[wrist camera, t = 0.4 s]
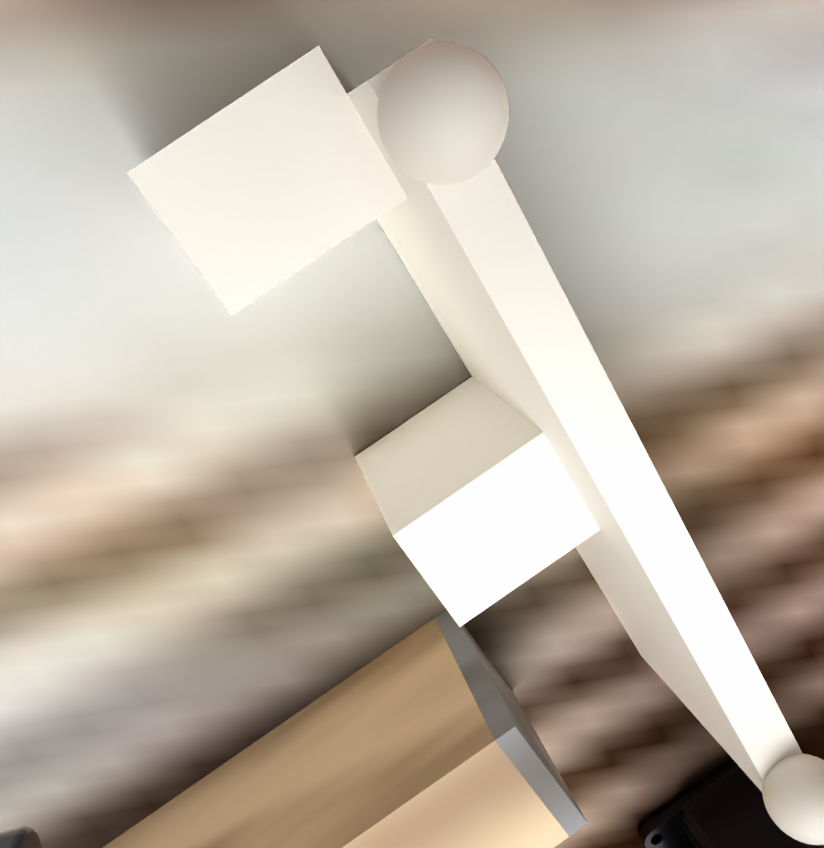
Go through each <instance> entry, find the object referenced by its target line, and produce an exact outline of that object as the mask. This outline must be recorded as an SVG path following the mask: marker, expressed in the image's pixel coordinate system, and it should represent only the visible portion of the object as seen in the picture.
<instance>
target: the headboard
mask: <svg viewBox="0 0 824 848" xmlns="http://www.w3.org/2000/svg"><path fill="white" fill-rule="evenodd" d="M508 124H509V101H508V95H507V92H506V88H505V85H504V83H503V81H502V78H501V77H500V75H499V73H498V71H497V70H496V69H495V67H494V66H493V65H492V64H491V63H490V62H489V61H488V60H487V59H486V58H485V57H484V56H483V55H482V54H480V53H479V52H477V51H476V50H474V49H472V48H470V47H468V46H465V45H462V44H458V43H454V42H434V40H433V38H430V39H429V40H427V41H426V42H424V43H423V44H421V45H420V46H418V47H417V48H415V49H414V50H412V51H411V52H409V53H408V54H406V55H405V56H403V57H402V58H400V59H399V60H397V61H396V62H394V63H392V64H391V65H389V66H388V67H386V68H385V69H383V70H382V71H380V72H379V73H377V74H376V75H374V76H373V77H371V78H370V79H368V80H367V81H365V82H364V83H362V84H361V85H360V86H358V87H357V88H355V89H354V90H352V91H351V92H349V93H348V94H347V93H346V91H345V90H344V88H343V86H342V84H341V83H340V81H339V79H338V78H337V76H336V74H335V72H334V71H333V69H332V67H331V66H330V64H329V62H328V60H327V59H326V57H325V55H324V53H323V52H322V50H321V48H320V47H319V45H318V46H317V47H315V48H314V49H312V50H311V51H309V52H308V53H306V54H305V55H303V56H302V57H300V58H299V59H297V60H296V61H294V62H293V63H291V64H290V65H288V66H287V67H285V68H284V69H282V70H281V71H279V72H278V73H276V74H275V75H273V76H272V77H270V78H269V79H267V80H266V81H264V82H263V83H261V84H260V85H258V86H256V87H255V88H253V89H252V90H250V91H249V92H247V93H246V94H244V95H243V96H241V97H240V98H238V99H237V100H235V101H234V102H232V103H231V104H229V105H228V106H226V107H225V108H223V109H222V110H220V111H219V112H217V113H216V114H214V115H213V116H211V117H210V118H208V119H207V120H205V121H204V122H202V123H201V124H199V125H198V126H196V127H195V128H193V129H192V130H190V131H189V132H187V133H186V134H184V135H183V136H181V137H180V138H178V139H177V140H175V141H173V142H172V143H170V144H169V145H167V146H166V147H164V148H163V149H161V150H160V151H158V152H157V153H155V154H154V155H152V156H151V157H149V158H148V159H146V160H145V161H143V162H142V163H140V164H139V165H137V166H136V167H134V168H133V169H131V170H130V171H128V172H127V175H128V176H129V177H130V179H131V180H132V182H133V183H134V184H135V186H136V187H137V188H138V190H139V191H140V192H141V194H142V195H143V197H144V198H145V199H146V201H147V202H148V203H149V205H150V206H151V207H152V209H153V210H154V211H155V213H156V214H157V216H158V217H159V218H160V220H161V221H162V222H163V224H164V225H165V226H166V228H167V229H168V231H169V232H170V233H171V235H172V236H173V237H174V239H175V240H176V241H177V243H178V244H179V246H180V247H181V248H182V250H183V251H184V252H185V254H186V255H187V256H188V258H189V259H190V261H191V262H192V263H193V265H194V266H195V267H196V269H197V270H198V271H199V273H200V274H201V276H202V277H203V278H204V280H205V281H206V282H207V284H208V285H209V286H210V288H211V289H212V290H213V292H214V293H215V295H216V296H217V297H218V299H219V300H220V301H221V303H222V304H223V305H224V307H225V308H226V310H227V311H228V312H229V314H230V315H231V316H233V315H234V314H236V313H237V312H239V311H240V310H242V309H243V308H245V307H246V306H248V305H249V304H251V303H252V302H254V301H255V300H257V299H258V298H260V297H261V296H263V295H264V294H266V293H267V292H269V291H270V290H272V289H273V288H275V287H276V286H278V285H279V284H281V283H282V282H283V281H285V280H286V279H288V278H289V277H291V276H292V275H294V274H295V273H297V272H298V271H300V270H301V269H303V268H304V267H306V266H307V265H309V264H310V263H312V262H313V261H315V260H316V259H318V258H319V257H321V256H322V255H324V254H325V253H327V252H328V251H330V250H331V249H333V248H334V247H336V246H337V245H339V244H340V243H341V242H343V241H344V240H346V239H347V238H349V237H350V236H352V235H353V234H355V233H356V232H358V231H359V230H361V229H362V228H364V227H365V226H367V225H368V224H370V223H371V222H373V221H374V220H376V219H377V221H378V222H379V224H380V226H381V227H382V229H383V231H384V232H385V234H386V236H387V237H388V239H389V241H390V242H391V244H392V246H393V247H394V249H395V250H396V252H397V254H398V255H399V257H400V259H401V260H402V262H403V264H404V265H405V267H406V269H407V270H408V272H409V274H410V275H411V277H412V279H413V280H414V282H415V283H416V285H417V287H418V288H419V290H420V292H421V293H422V295H423V297H424V298H425V300H426V302H427V303H428V305H429V307H430V308H431V310H432V312H433V313H434V315H435V316H436V318H437V320H438V321H439V323H440V325H441V326H442V328H443V330H444V331H445V333H446V335H447V336H448V338H449V340H450V341H451V343H452V345H453V346H454V348H455V349H456V351H457V353H458V354H459V356H460V358H461V359H462V361H463V363H464V364H465V366H466V368H467V369H468V371H469V373H470V374H471V376H472V377H471V378H469V379H468V380H466V381H465V382H463V383H462V384H460V385H459V386H457V387H456V388H454V389H453V390H451V391H450V392H449V393H447V394H446V395H444V396H443V397H441V398H440V399H438V400H437V401H435V402H434V403H432V404H431V405H430V406H428V407H427V408H425V409H424V410H422V411H421V412H419V413H418V414H416V415H415V416H413V417H412V418H410V419H409V420H408V421H406V422H405V423H403V424H402V425H400V426H399V427H397V428H396V429H394V430H393V431H391V432H390V433H389V434H387V435H386V436H384V437H383V438H381V439H380V440H378V441H377V442H375V443H374V444H372V445H371V446H369V447H368V448H367V449H365V450H364V451H362V452H361V453H359V454H358V455H356V456H355V460H356V462H357V464H358V466H359V468H360V470H361V472H362V474H363V476H364V478H365V480H366V482H367V484H368V486H369V488H370V490H371V492H372V494H373V497H374V499H375V501H376V503H377V505H378V507H379V509H380V511H381V513H382V515H383V517H384V519H385V521H386V523H387V525H388V527H389V529H390V531H391V534H392V536H393V537H394V538H395V540H396V541H397V542H398V544H399V545H400V547H401V548H402V549H403V551H404V552H405V553H406V555H407V556H408V557H409V559H410V560H411V562H412V563H413V564H414V566H415V567H416V568H417V570H418V571H419V572H420V574H421V575H422V577H423V578H424V579H425V581H426V582H427V583H428V585H429V586H430V587H431V589H432V590H433V592H434V593H435V594H436V596H437V597H438V598H439V600H440V601H441V602H442V604H443V605H444V607H445V608H446V609H447V611H448V612H449V613H450V615H451V616H452V617H453V619H454V620H455V622H456V623H457V624H458V626H459V627H461V626H462V625H464V624H465V623H467V622H468V621H469V620H471V619H472V618H474V617H475V616H477V615H478V614H480V613H481V612H482V611H484V610H485V609H487V608H488V607H490V606H491V605H493V604H494V603H495V602H497V601H498V600H500V599H501V598H503V597H504V596H505V595H507V594H508V593H510V592H511V591H513V590H514V589H516V588H517V587H518V586H520V585H521V584H523V583H524V582H526V581H527V580H529V579H530V578H531V577H533V576H534V575H536V574H537V573H539V572H540V571H541V570H543V569H544V568H546V567H547V566H549V565H550V564H552V563H553V562H554V561H556V560H557V559H559V558H560V557H562V556H563V555H565V554H566V553H567V552H569V551H570V550H572V549H573V548H576V549H577V551H578V552H579V554H580V556H581V557H582V559H583V561H584V562H585V564H586V566H587V567H588V569H589V571H590V572H591V574H592V576H593V577H594V579H595V581H596V582H597V584H598V585H599V587H600V589H601V590H602V592H603V594H604V595H605V597H606V599H607V600H608V602H609V604H610V605H611V607H612V609H613V610H614V612H615V614H616V615H617V617H618V618H619V620H620V622H621V623H622V625H623V627H624V628H625V630H626V632H627V633H628V635H629V637H630V638H631V640H632V642H633V643H634V645H635V647H636V648H637V650H638V651H639V653H640V655H641V656H642V657H643V658H644V660H645V661H646V662H647V663H648V664H649V665H650V666H651V667H652V669H653V670H654V671H655V672H656V673H657V674H658V675H659V676H660V678H661V679H662V680H663V681H664V682H665V683H666V684H667V685H668V687H669V688H670V689H671V690H672V691H673V692H674V693H675V694H676V696H677V697H678V698H679V699H680V700H681V701H682V702H683V704H684V705H685V706H686V707H687V708H688V709H689V710H690V711H691V713H692V714H693V715H694V716H695V717H696V718H697V719H698V720H699V722H700V723H701V724H702V725H703V726H704V727H705V728H706V729H707V731H708V732H709V733H710V734H711V735H712V736H713V737H714V739H715V740H716V741H717V742H718V743H719V744H720V745H721V746H722V748H723V749H724V750H725V751H726V752H727V753H728V754H729V755H730V757H731V758H732V759H733V760H734V761H735V762H736V763H737V764H738V766H739V767H740V768H741V769H742V770H743V771H744V772H745V773H746V775H747V776H748V777H749V778H750V779H751V780H752V781H753V783H754V784H755V785H756V786H757V787H758V788H759V789H760V790H761V792H762V794H763V800H764V804H765V807H766V809H767V812H768V814H769V815H770V817H771V818H772V820H773V821H774V823H775V824H776V825H777V826H778V827H779V828H780V829H781V830H782V831H783V832H784V833H786V834H787V835H789V836H790V837H792V838H793V839H795V840H798V841H800V842H803V843H806V844H811V845H824V760H822V759H820V758H818V757H815V756H812V755H808V754H803V753H802V751H801V749H800V747H799V746H798V744H797V742H796V740H795V738H794V736H793V734H792V732H791V730H790V728H789V726H788V724H787V722H786V720H785V718H784V717H783V715H782V713H781V711H780V709H779V707H778V705H777V703H776V701H775V699H774V697H773V695H772V693H771V691H770V689H769V688H768V686H767V684H766V682H765V680H764V678H763V676H762V674H761V672H760V670H759V668H758V666H757V664H756V662H755V660H754V659H753V657H752V655H751V653H750V651H749V649H748V647H747V645H746V643H745V641H744V639H743V637H742V635H741V633H740V631H739V630H738V628H737V626H736V624H735V622H734V620H733V618H732V616H731V614H730V612H729V610H728V608H727V606H726V604H725V602H724V601H723V599H722V597H721V595H720V593H719V591H718V589H717V587H716V585H715V583H714V581H713V579H712V577H711V575H710V573H709V572H708V570H707V568H706V566H705V564H704V562H703V560H702V558H701V556H700V554H699V552H698V550H697V548H696V546H695V544H694V543H693V541H692V539H691V537H690V535H689V533H688V531H687V529H686V527H685V525H684V523H683V521H682V519H681V517H680V515H679V514H678V512H677V510H676V508H675V506H674V504H673V502H672V500H671V498H670V496H669V494H668V492H667V490H666V488H665V486H664V485H663V483H662V481H661V479H660V477H659V475H658V473H657V471H656V469H655V467H654V465H653V463H652V461H651V459H650V457H649V456H648V454H647V452H646V450H645V448H644V446H643V444H642V442H641V440H640V438H639V436H638V434H637V432H636V430H635V429H634V427H633V425H632V423H631V421H630V419H629V417H628V415H627V413H626V411H625V409H624V407H623V405H622V403H621V401H620V400H619V398H618V396H617V394H616V392H615V390H614V388H613V386H612V384H611V382H610V380H609V378H608V376H607V374H606V372H605V371H604V369H603V367H602V365H601V363H600V361H599V359H598V357H597V355H596V353H595V351H594V349H593V347H592V345H591V343H590V342H589V340H588V338H587V336H586V334H585V332H584V330H583V328H582V326H581V324H580V322H579V320H578V318H577V316H576V314H575V313H574V311H573V309H572V307H571V305H570V303H569V301H568V299H567V297H566V295H565V293H564V291H563V289H562V287H561V285H560V284H559V282H558V280H557V278H556V276H555V274H554V272H553V270H552V268H551V266H550V264H549V262H548V260H547V258H546V256H545V255H544V253H543V251H542V249H541V247H540V245H539V243H538V241H537V239H536V237H535V235H534V233H533V231H532V229H531V227H530V226H529V224H528V222H527V220H526V218H525V216H524V214H523V212H522V210H521V208H520V206H519V204H518V202H517V200H516V198H515V197H514V195H513V193H512V191H511V189H510V187H509V185H508V183H507V181H506V179H505V177H504V175H503V173H502V171H501V169H500V168H499V166H498V164H497V162H496V160H495V156H496V155H497V153H498V152H499V150H500V148H501V146H502V144H503V142H504V139H505V136H506V133H507V129H508Z"/></svg>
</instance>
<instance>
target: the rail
mask: <svg viewBox="0 0 824 848" xmlns="http://www.w3.org/2000/svg"><path fill="white" fill-rule="evenodd" d="M586 824H588V823H587V821H586V819H585V818H584V816H583V814H582V812H581V811H580V809H579V807H578V805H577V804H576V802H575V800H574V798H573V797H572V795H571V793H570V791H569V790H568V788H567V786H566V784H565V783H564V781H563V779H562V777H561V776H560V774H559V772H558V770H557V769H556V767H555V765H554V763H553V762H552V760H551V758H550V756H549V755H548V753H547V751H546V749H545V748H544V746H543V744H542V743H541V741H540V739H539V737H538V736H537V734H536V732H535V730H534V729H533V727H532V725H531V723H530V722H529V720H528V718H527V716H526V715H525V713H524V711H523V709H522V708H521V706H520V704H519V702H518V701H517V699H516V697H515V695H514V694H513V692H512V690H511V689H510V688H509V686H508V685H507V684H506V682H505V681H504V679H503V678H502V677H501V675H500V674H499V673H498V671H497V670H496V668H495V667H494V666H493V664H492V663H491V662H490V660H489V659H488V658H487V656H486V655H485V653H484V652H483V651H482V649H481V648H480V647H479V645H478V644H477V642H476V641H475V640H474V638H473V637H472V636H471V634H470V633H469V631H468V630H467V629H466V627H465V626H464V625H462V626H461V627H459V626H458V624H457V623H456V622H455V620H454V619H453V617H452V616H451V615H450V613H449V612H448V611H447V609H446V610H445V611H443V612H442V613H440V614H439V615H438V616H436V617H435V618H433V619H432V620H430V621H429V622H427V623H426V624H425V625H423V626H422V627H420V628H419V629H417V630H416V631H414V632H413V633H412V634H410V635H409V636H407V637H406V638H404V639H403V640H401V641H400V642H399V643H397V644H396V645H394V646H393V647H391V648H390V649H388V650H387V651H386V652H384V653H383V654H381V655H380V656H378V657H377V658H375V659H374V660H373V661H371V662H370V663H368V664H367V665H365V666H364V667H362V668H361V669H360V670H358V671H357V672H355V673H354V674H352V675H351V676H349V677H348V678H347V679H345V680H344V681H342V682H341V683H339V684H338V685H337V686H335V687H334V688H332V689H331V690H329V691H328V692H326V693H325V694H324V695H322V696H321V697H319V698H318V699H316V700H315V701H313V702H312V703H311V704H309V705H308V706H306V707H305V708H303V709H302V710H300V711H299V712H298V713H296V714H295V715H293V716H292V717H290V718H289V719H287V720H286V721H285V722H283V723H282V724H280V725H279V726H277V727H276V728H274V729H273V730H272V731H270V732H269V733H267V734H266V735H264V736H263V737H261V738H260V739H259V740H257V741H256V742H254V743H253V744H251V745H250V746H248V747H247V748H246V749H244V750H243V751H241V752H240V753H238V754H237V755H235V756H234V757H233V758H231V759H230V760H228V761H227V762H225V763H224V764H222V765H221V766H220V767H218V768H217V769H215V770H214V771H212V772H211V773H210V774H208V775H207V776H205V777H204V778H202V779H201V780H199V781H198V782H197V783H195V784H194V785H192V786H191V787H189V788H188V789H186V790H185V791H184V792H182V793H181V794H179V795H178V796H176V797H175V798H173V799H172V800H171V801H169V802H168V803H166V804H165V805H163V806H162V807H160V808H159V809H158V810H156V811H155V812H153V813H152V814H150V815H149V816H147V817H146V818H145V819H143V820H142V821H140V822H139V823H137V824H136V825H134V826H133V827H132V828H130V829H129V830H127V831H126V832H124V833H123V834H121V835H120V836H119V837H117V838H116V839H114V840H113V841H111V842H110V843H108V844H107V845H106V846H104V847H103V848H554V847H555V846H557V845H558V844H560V843H561V842H562V841H564V840H565V839H567V838H568V837H569V836H571V835H572V834H574V833H575V832H577V831H578V830H579V829H581V828H582V827H584V826H585V825H586Z"/></svg>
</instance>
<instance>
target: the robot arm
mask: <svg viewBox="0 0 824 848" xmlns="http://www.w3.org/2000/svg"><path fill="white" fill-rule="evenodd" d="M639 836H640V839H641V840H642V842H643V844H644V845H645V847H646V848H824V845H811V844H806V843H803V842H800V841H798V840H795V839H793V838H792V837H790V836H789V835H787V834H786V833H784V832H783V831H782V830H781V829H780V828H779V827H778V826H777V825H776V824H775V823H774V821H773V820H772V818H771V817H770V815H769V814H768V812H767V809H766V807H765V804H764V800H763V794H762V792H761V790H760V789H759V788H758V787H757V786H756V785H755V784H754V783H753V781H752V780H751V779H750V778H749V777H748V776H747V775H746V773H745V772H744V771H743V770H742V769H741V768H740V767H739V766H738V764H737V763H736V762H735V761H733V762H732V763H730V764H729V765H727V766H726V767H725V768H723V769H722V770H720V771H719V772H717V773H716V774H715V775H713V776H712V777H710V778H709V779H708V780H706V781H705V782H703V783H702V784H701V785H699V786H698V787H696V788H695V789H694V790H692V791H691V792H689V793H688V794H686V795H685V796H684V797H682V798H681V799H679V800H678V801H677V802H675V803H674V804H672V805H671V806H670V807H668V808H667V809H665V810H664V811H663V812H661V813H660V814H658V815H657V816H655V817H654V818H653V819H651V820H650V821H648V822H647V823H646V824H645V825H644V826H642V828H641V830H640V832H639ZM0 848H42V845H41V842H40V839H39V837H38V835H37V833H36V832H35V831H34V829H32V828H30V827H20V828H17V829H13V830H9V831H5V832H1V833H0Z"/></svg>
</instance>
